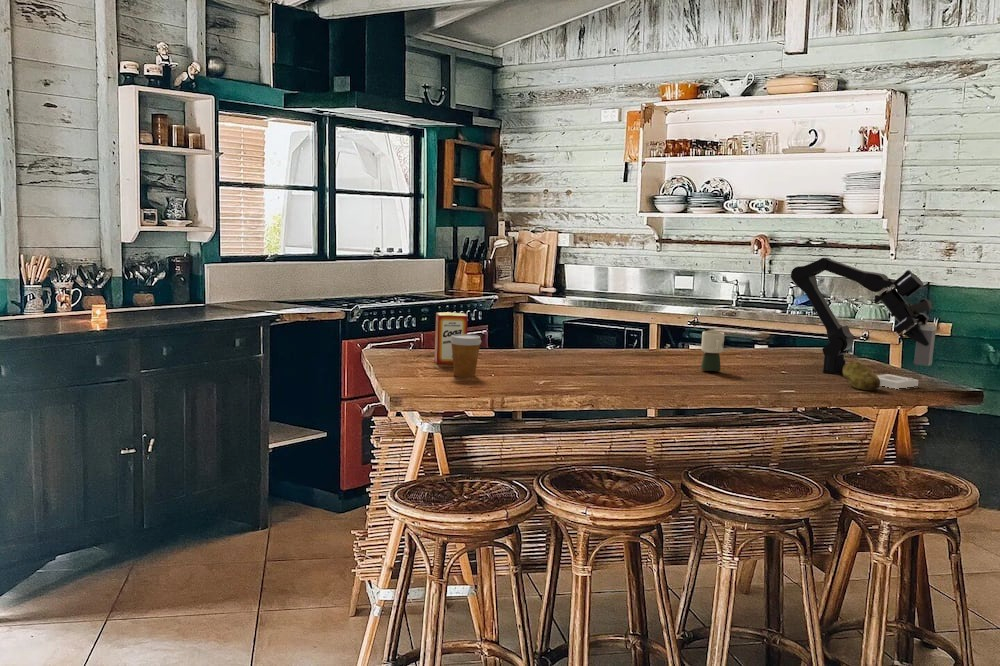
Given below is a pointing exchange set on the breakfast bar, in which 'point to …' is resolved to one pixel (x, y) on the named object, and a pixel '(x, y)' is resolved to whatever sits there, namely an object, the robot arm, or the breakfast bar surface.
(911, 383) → the socket
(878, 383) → the potato
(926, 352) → the grey tall block
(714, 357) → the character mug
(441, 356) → the baking soda box
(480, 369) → the breakfast bar surface
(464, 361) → the disposable coffee cup
